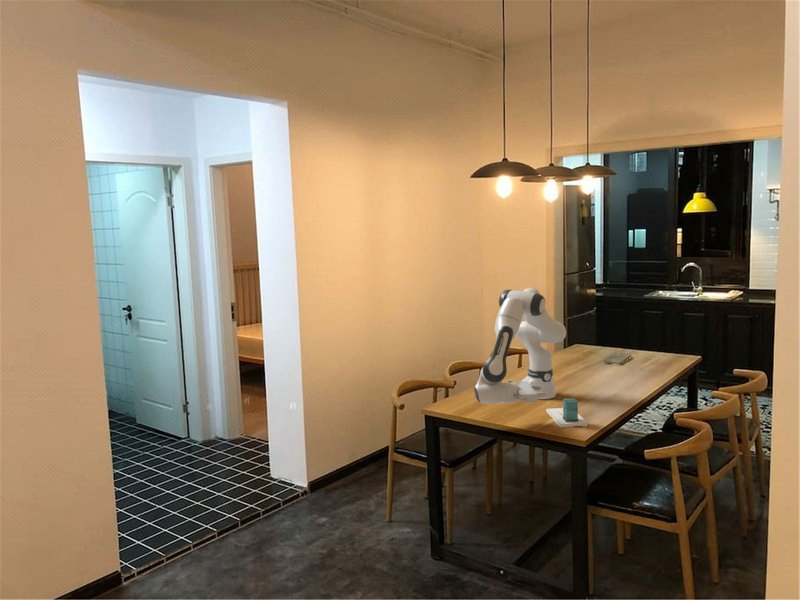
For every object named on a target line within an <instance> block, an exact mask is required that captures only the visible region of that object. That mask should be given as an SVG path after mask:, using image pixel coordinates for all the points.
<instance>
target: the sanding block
mask: <svg viewBox="0 0 800 600" xmlns="http://www.w3.org/2000/svg"><path fill="white" fill-rule="evenodd" d="M578 403H579V402H578V400H577V399H576V398H563V399H562V408H563V419H564V420H565V421H566V422H578V414H579V404H578Z"/></svg>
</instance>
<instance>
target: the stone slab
mask: <svg viewBox="0 0 800 600" xmlns="http://www.w3.org/2000/svg"><path fill="white" fill-rule="evenodd" d="M630 357H631V358H632V355H631V354H629V353H625V352H621V351H614V352H612V353H610V354H608V355H607V356H606V357H605V358H604V359H602V360H603V363H604V364H605V363H610V364H609V365H612V364H617V365H616V366H619V365H620V364H621V365H623V364H624V363H625V362H624V361H626V360H627V359H629V358H630ZM629 360H630V359H629ZM623 362H624V363H623ZM626 362H627V361H626ZM622 363H623V364H622ZM621 365H620V366H621Z"/></svg>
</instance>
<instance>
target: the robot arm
mask: <svg viewBox="0 0 800 600" xmlns="http://www.w3.org/2000/svg"><path fill="white" fill-rule="evenodd" d="M498 305H499V310H498V313H497V315H496V318H495V322H494V334H495V335H496V339H495V344H494V346H493V350H492V353H491V356H490V357H489V358H488V359H487V360H486V361H485V363H484V364H483V367H481V369H480V373H479V377H478V379H477V382H476V384H475V386H474V388H473V390H474V397H475V399H476V400H477V402H478V403H479V404H483V405H484V404H485V405H493V404H494V405H495V404H500V403H502V404H513V403H514V404H515V403H517V402H518V401H519V402H520V403H536V402H538V400H550V399H553V398H555V397H556V395H558V392H557V391H556V384H555V379H554V377H553V376H554V374H553V373H554V372H553V371H554V370H553V366H552V363H553V361H552V354H551V352H550V351H549V350H548V349H545V348H544V347H543V346H542V345H541V343H543V344H544V343H545V344H555V343H561V342H563V341H564V339H565V338H566V336H567V330H566V327H565V325H564V323H562V322H559V321H558V320H556V319H554V318H553V317H551V316H550V314H548V312H547V308H546V297H544V295H542V294H541V293H540V291H539V290H538V289H537V288H534V287H526V288H525V289H523V290H516V289H515V290H513V289H504V290H503V291H502V292H501V293H500V294H499V298H498ZM523 317H524V321H522V320H523ZM515 337H516V338H517V339H518V341H520V342H521V343H522V344H523V345H524V346H525V348H526V350H527V353H528V359H529V361H528V362H529V368H528V369H527V376H525V377H524V378H523V379H522V380H520V381H513V380H508V381H506V382H503V380H504V379H505V378H506V375H507V371H508V370H507V356H508V354H509V349H510V346H511V343H512V341H513V340H514V338H515Z"/></svg>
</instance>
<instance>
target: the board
mask: <svg viewBox="0 0 800 600" xmlns="http://www.w3.org/2000/svg"><path fill="white" fill-rule="evenodd" d="M546 413H547V414H548V415H549V417H552V418H553V419H552V418H551V419H552V420H553V421H554V422H555V423H556V424H557V425H558V427H559V426H560V428H575V427H574V426H583V427H588V426H589V424H588V421H586V419H585V418H584V417H582V416H581V415H580V414H579V413H578V422H566V421H565V420H564V419H563V407H557V408H555V407H554V408H553V407H552V408H546ZM587 425H588V426H587Z"/></svg>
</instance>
